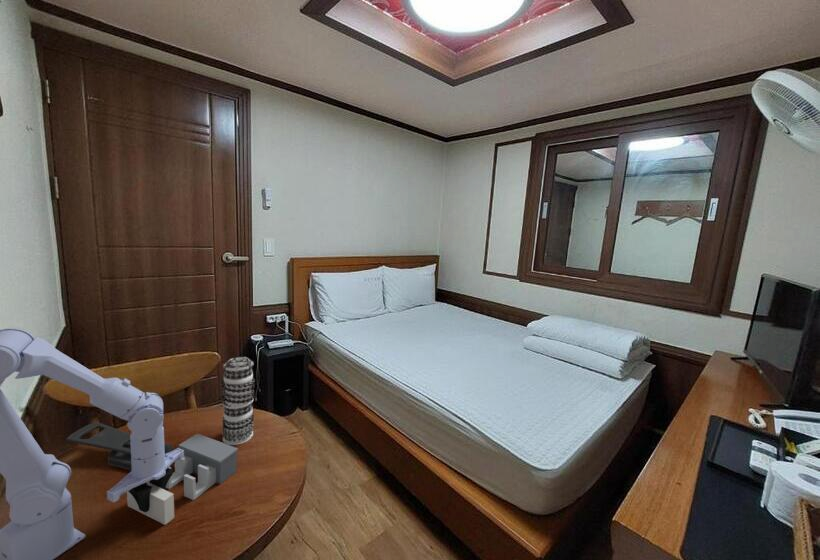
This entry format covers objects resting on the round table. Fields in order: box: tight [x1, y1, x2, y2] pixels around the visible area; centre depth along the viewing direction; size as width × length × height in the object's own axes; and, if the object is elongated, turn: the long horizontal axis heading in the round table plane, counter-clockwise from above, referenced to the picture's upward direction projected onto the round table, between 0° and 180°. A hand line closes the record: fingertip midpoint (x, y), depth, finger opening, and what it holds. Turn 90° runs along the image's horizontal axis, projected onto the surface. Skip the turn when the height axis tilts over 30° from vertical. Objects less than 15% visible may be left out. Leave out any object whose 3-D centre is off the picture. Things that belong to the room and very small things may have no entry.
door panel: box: [126, 481, 175, 526], centre depth 73 cm, size 12×2×6 cm, turn 71°
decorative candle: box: [220, 356, 256, 446], centre depth 99 cm, size 9×9×25 cm
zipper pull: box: [65, 421, 175, 472], centre depth 89 cm, size 9×7×25 cm
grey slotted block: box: [165, 433, 239, 501], centre depth 84 cm, size 11×14×7 cm
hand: (150, 505), depth 74 cm, fingers closed on door panel, 2 cm apart
